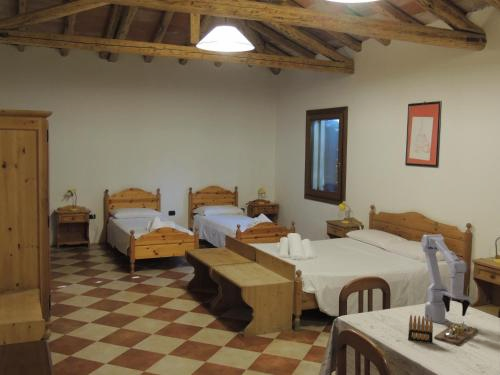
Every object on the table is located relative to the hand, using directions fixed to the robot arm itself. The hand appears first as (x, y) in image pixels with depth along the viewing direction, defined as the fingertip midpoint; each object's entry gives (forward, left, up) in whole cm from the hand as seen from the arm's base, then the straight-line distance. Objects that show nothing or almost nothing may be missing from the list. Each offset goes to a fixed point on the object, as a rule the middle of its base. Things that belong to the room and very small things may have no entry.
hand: (455, 313), depth 243 cm
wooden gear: (+2, -4, -8) cm, 9 cm away
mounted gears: (+2, -4, -8) cm, 9 cm away
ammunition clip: (-7, -23, -9) cm, 25 cm away
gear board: (+2, -4, -9) cm, 10 cm away
